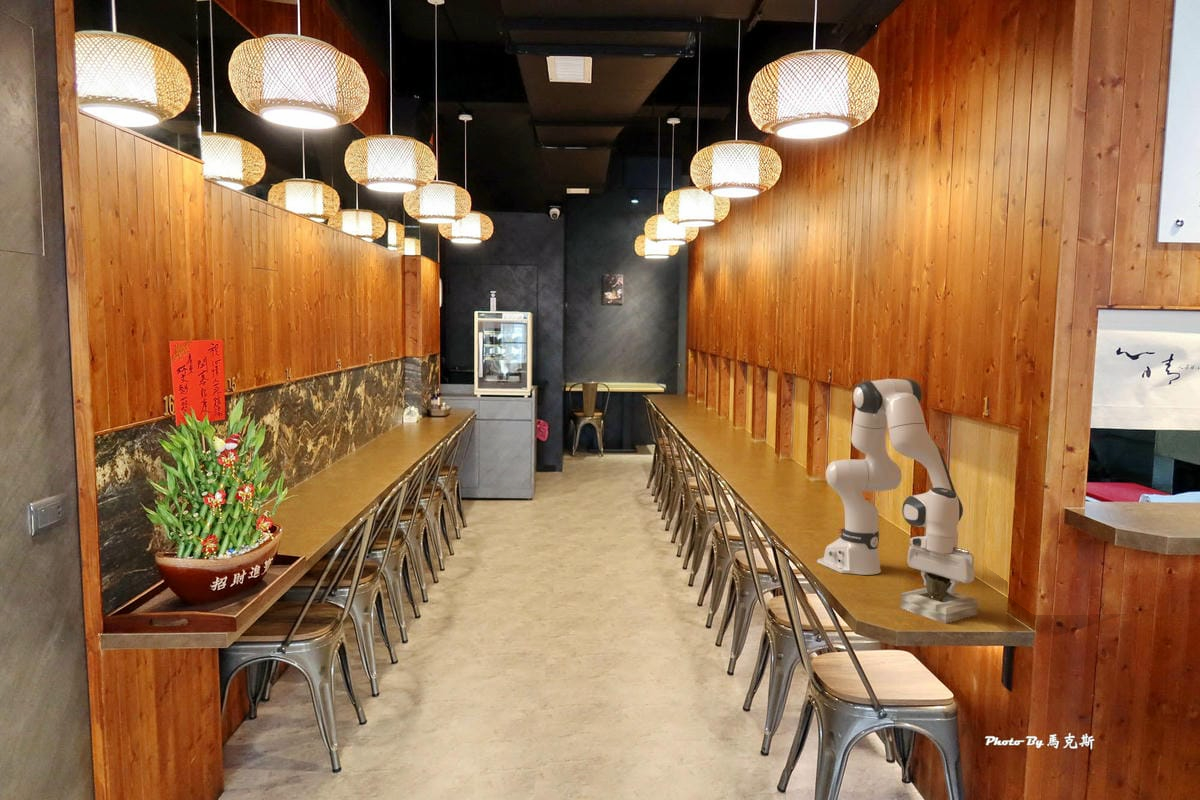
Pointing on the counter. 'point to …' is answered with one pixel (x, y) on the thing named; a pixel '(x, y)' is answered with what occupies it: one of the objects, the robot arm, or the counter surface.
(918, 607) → the white recessed square tray
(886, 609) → the counter surface
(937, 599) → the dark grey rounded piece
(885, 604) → the counter surface
